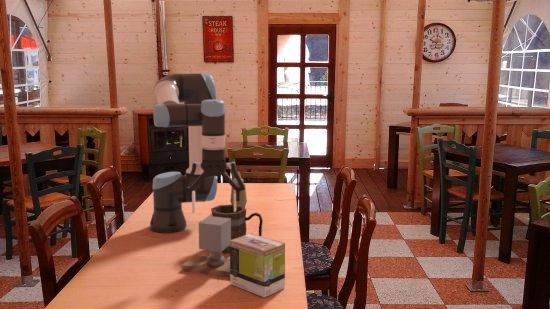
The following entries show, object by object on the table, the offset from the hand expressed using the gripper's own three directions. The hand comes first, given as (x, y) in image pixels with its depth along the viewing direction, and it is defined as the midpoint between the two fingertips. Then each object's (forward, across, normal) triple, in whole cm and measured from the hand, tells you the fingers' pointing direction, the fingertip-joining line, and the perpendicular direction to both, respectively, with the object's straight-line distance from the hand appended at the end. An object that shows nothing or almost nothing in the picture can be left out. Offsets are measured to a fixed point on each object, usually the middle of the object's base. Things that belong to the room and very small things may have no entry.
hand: (214, 210), depth 165 cm
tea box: (+20, +14, -15) cm, 29 cm away
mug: (+21, +7, +19) cm, 29 cm away
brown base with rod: (+20, 0, -1) cm, 20 cm away
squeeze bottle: (+22, +7, +73) cm, 77 cm away
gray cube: (+12, 0, 0) cm, 12 cm away
